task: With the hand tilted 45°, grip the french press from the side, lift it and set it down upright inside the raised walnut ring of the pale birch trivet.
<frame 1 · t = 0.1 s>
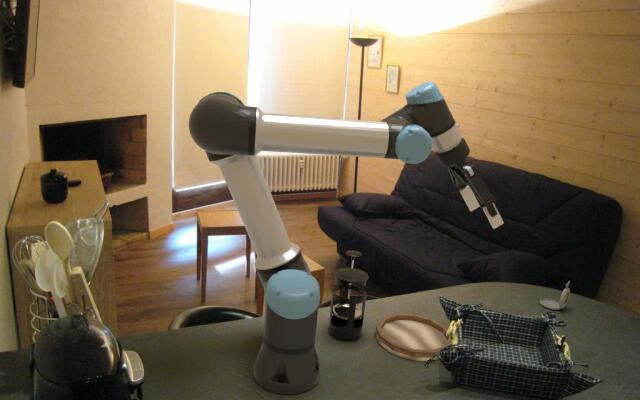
hand: (486, 216, 130), 36 cm above the breakfast bar, tool tilted 35°, fingers open, 13 cm apart
ring trivet: (413, 339, 140), on the breakfast bar
french press: (344, 332, 141), on the breakfast bar
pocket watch: (553, 308, 167), on the breakfast bar
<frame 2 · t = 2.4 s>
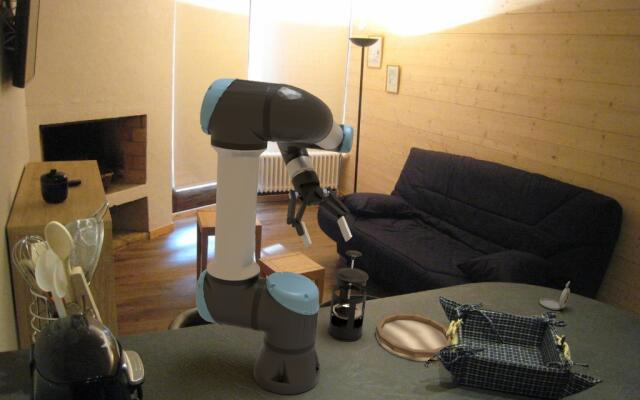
hand: (329, 242, 143), 22 cm above the breakfast bar, tool tilted 45°, fingers open, 13 cm apart
nothing on the breakfast bar moved.
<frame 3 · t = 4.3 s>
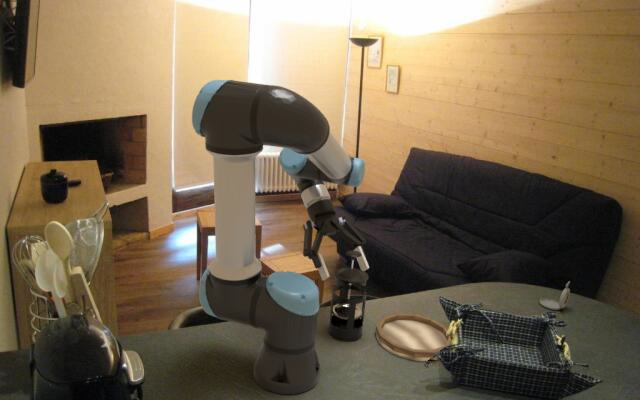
hand: (346, 274, 140), 15 cm above the breakfast bar, tool tilted 45°, fingers open, 13 cm apart
nothing on the breakfast bar moved.
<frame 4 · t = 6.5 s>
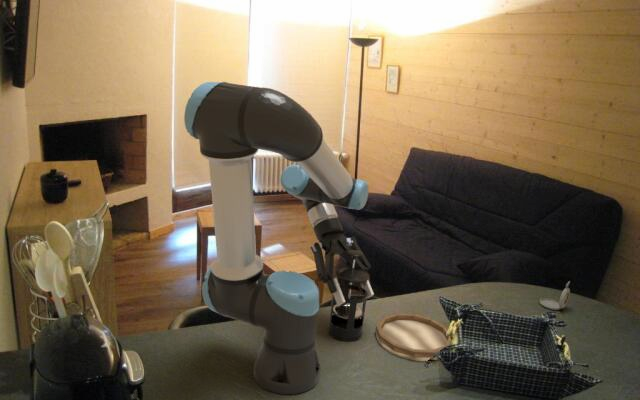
hand: (356, 300, 136), 11 cm above the breakfast bar, tool tilted 45°, fingers closed on french press, 9 cm apart
french press: (344, 331, 141), on the breakfast bar, touching gripper
everything else where it was.
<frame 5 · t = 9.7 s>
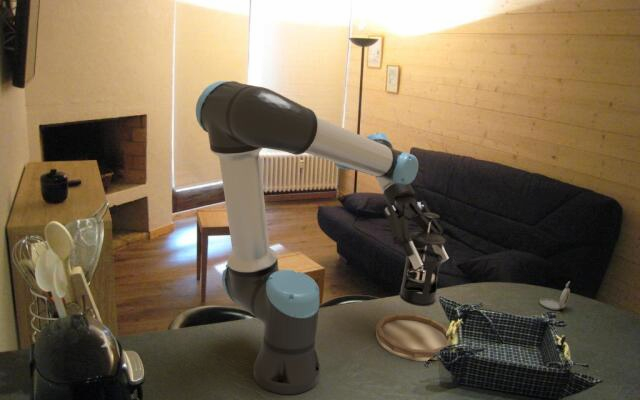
hand: (431, 263, 132), 23 cm above the breakfast bar, tool tilted 45°, fingers closed on french press, 9 cm apart
french press: (416, 297, 137), point 12 cm above the breakfast bar, touching gripper
everything else where it was.
when the fingers open (13 cm above the breakfast bar, at t = 12.9 s): french press drops 1 cm, resting on ring trivet.
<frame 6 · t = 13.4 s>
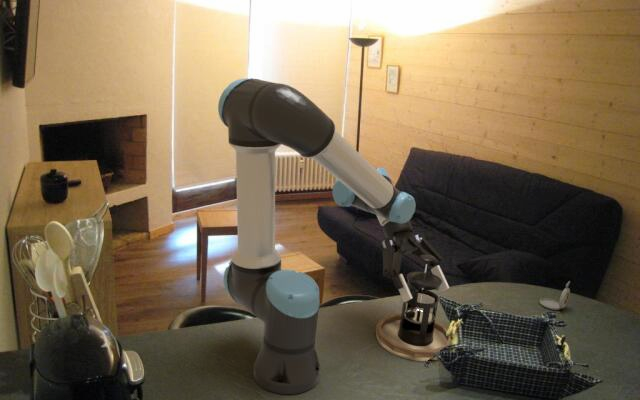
hand: (427, 295, 134), 14 cm above the breakfast bar, tool tilted 45°, fingers open, 13 cm apart
french press: (414, 336, 140), point 1 cm above the breakfast bar, touching ring trivet
everything else where it was.
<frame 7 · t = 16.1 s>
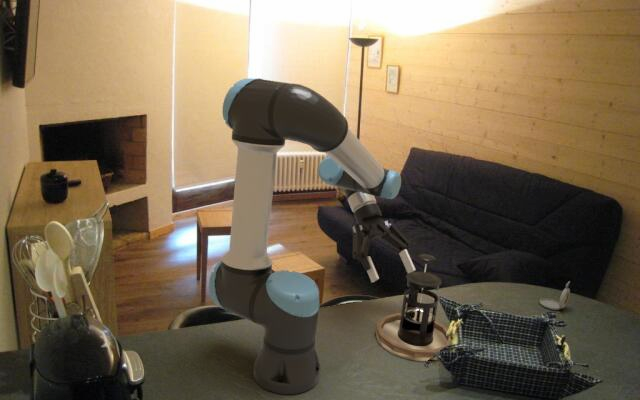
hand: (394, 276, 144), 14 cm above the breakfast bar, tool tilted 45°, fingers open, 13 cm apart
nothing on the breakfast bar moved.
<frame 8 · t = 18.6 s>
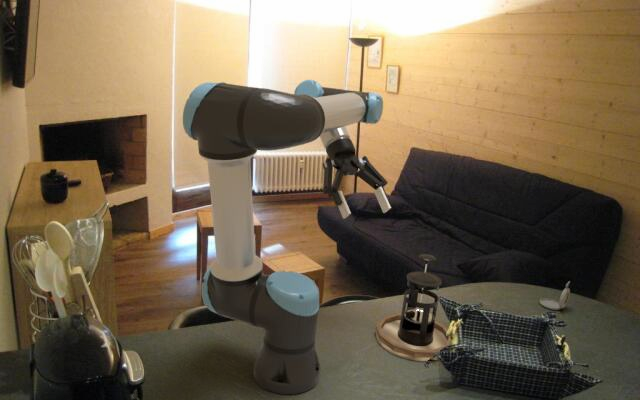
hand: (367, 213, 135), 33 cm above the breakfast bar, tool tilted 45°, fingers open, 13 cm apart
nothing on the breakfast bar moved.
at the end: french press 0.4 cm off-centre on the ring trivet, point 0.8 cm above the ring trivet's base; french press tilted 0°; the gripper is holding nothing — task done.
